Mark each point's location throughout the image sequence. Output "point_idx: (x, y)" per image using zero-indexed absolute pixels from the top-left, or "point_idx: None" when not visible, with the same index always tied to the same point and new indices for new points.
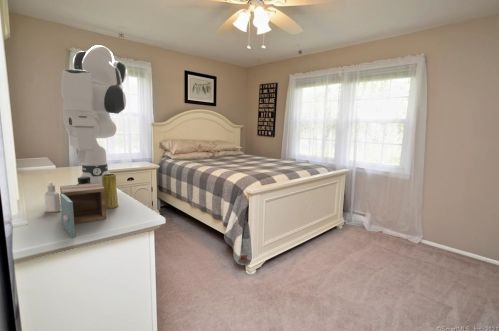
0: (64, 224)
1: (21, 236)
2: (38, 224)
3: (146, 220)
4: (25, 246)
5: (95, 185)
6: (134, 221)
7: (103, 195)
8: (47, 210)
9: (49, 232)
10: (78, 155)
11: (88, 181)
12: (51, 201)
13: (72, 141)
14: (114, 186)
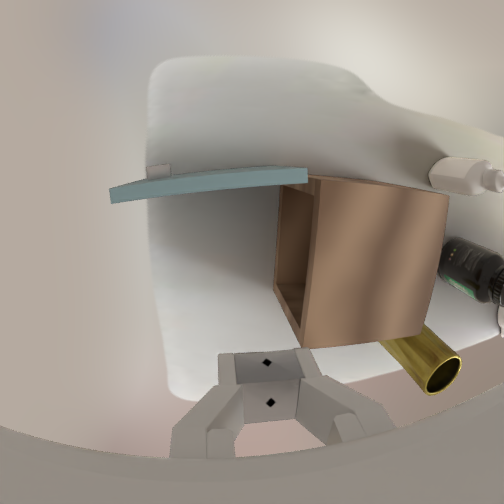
0: (238, 168)
1: (258, 66)
2: (344, 113)
3: (187, 373)
4: (165, 74)
5: (379, 322)
6: (196, 348)
7: (293, 327)
8: (444, 158)
9: (245, 128)
10: (225, 396)
11: (490, 296)
12: (454, 169)
13: (475, 466)
14: (402, 366)
